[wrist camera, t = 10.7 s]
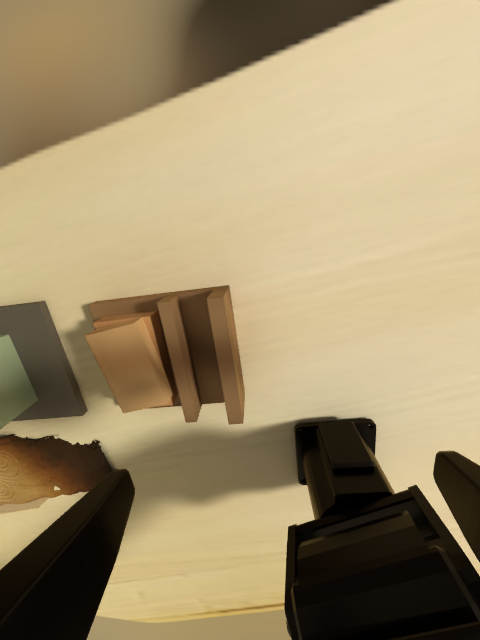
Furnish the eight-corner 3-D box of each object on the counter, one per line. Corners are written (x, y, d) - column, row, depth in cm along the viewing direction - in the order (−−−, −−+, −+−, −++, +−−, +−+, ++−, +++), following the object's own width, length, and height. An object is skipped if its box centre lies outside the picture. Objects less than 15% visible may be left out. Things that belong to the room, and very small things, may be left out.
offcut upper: (173, 392, 18) (168, 403, 17) (131, 402, 19) (123, 413, 18) (142, 317, 17) (133, 323, 15) (96, 329, 17) (84, 336, 16)
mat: (87, 410, 22) (82, 415, 22) (4, 417, 23) (-2, 422, 22) (44, 301, 19) (38, 303, 18) (-50, 312, 20) (-59, 314, 19)
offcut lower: (177, 395, 20) (172, 405, 19) (129, 399, 20) (121, 409, 19) (156, 310, 18) (150, 316, 16) (103, 317, 18) (92, 322, 17)
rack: (244, 393, 21) (243, 423, 17) (129, 402, 22) (106, 433, 18) (229, 285, 18) (223, 296, 15) (96, 301, 19) (63, 315, 15)
